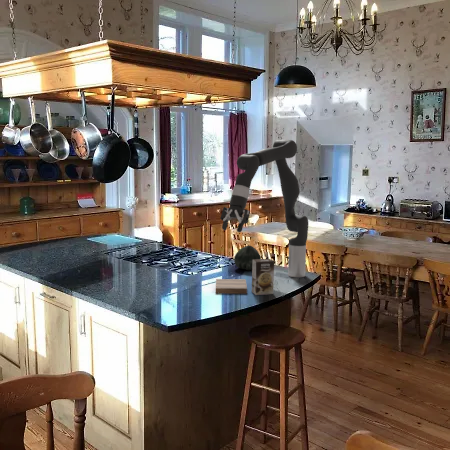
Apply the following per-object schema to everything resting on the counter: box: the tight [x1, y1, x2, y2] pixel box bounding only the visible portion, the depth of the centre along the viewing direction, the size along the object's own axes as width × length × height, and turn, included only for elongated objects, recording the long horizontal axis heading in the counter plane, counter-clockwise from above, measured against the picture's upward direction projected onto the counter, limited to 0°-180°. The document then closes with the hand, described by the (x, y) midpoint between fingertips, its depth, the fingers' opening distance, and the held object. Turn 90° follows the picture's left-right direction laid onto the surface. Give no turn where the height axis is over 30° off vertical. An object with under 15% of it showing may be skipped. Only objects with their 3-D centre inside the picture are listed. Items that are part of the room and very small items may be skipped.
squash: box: [233, 245, 262, 272], centre depth 289 cm, size 14×15×15 cm
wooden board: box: [215, 278, 248, 295], centre depth 250 cm, size 17×15×2 cm
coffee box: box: [251, 258, 275, 296], centre depth 242 cm, size 9×6×16 cm
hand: (231, 230), depth 229 cm, fingers open, 8 cm apart
